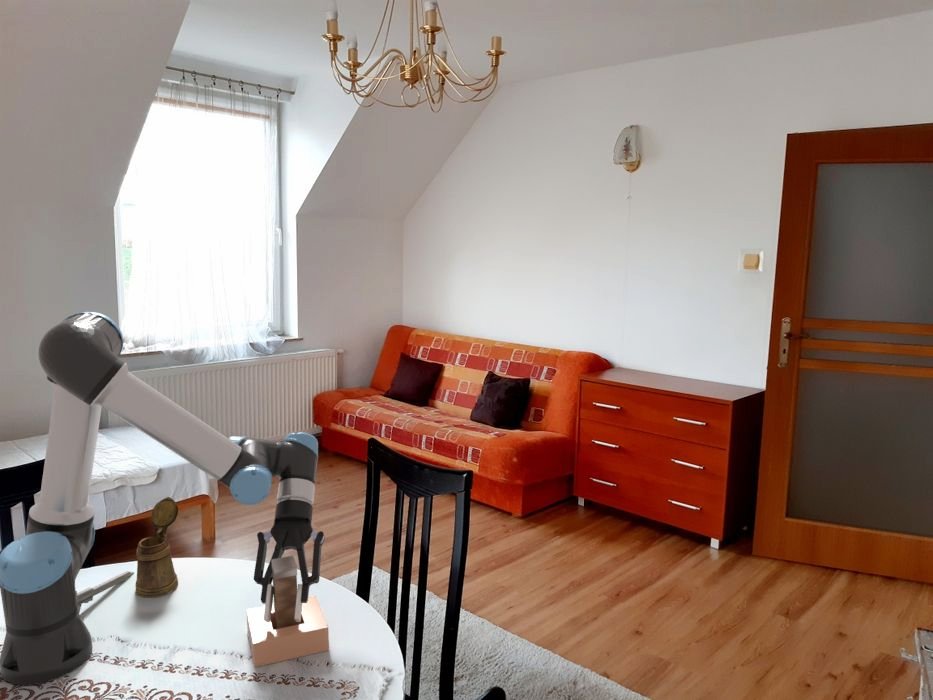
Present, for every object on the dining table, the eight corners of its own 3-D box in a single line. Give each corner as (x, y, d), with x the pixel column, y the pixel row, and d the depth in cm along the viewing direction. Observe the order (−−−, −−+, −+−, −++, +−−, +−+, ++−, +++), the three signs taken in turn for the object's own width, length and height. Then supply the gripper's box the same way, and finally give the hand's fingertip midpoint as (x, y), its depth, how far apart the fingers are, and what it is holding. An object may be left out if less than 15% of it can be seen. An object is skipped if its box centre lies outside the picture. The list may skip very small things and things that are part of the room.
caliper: (70, 624, 147) (67, 596, 145) (66, 623, 147) (62, 596, 146) (134, 574, 166) (132, 549, 165) (130, 573, 167) (127, 549, 165)
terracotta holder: (254, 667, 134) (253, 643, 133) (247, 631, 144) (246, 609, 143) (328, 650, 139) (328, 627, 138) (316, 617, 150) (316, 595, 149)
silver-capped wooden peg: (278, 644, 139) (274, 569, 135) (274, 632, 143) (271, 559, 139) (299, 639, 140) (296, 565, 137) (296, 627, 144) (293, 555, 141)
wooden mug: (193, 567, 169) (188, 496, 165) (167, 598, 156) (160, 522, 152) (156, 566, 170) (150, 495, 166) (127, 597, 156) (120, 521, 152)
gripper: (340, 510, 153) (332, 624, 140) (254, 511, 152) (238, 625, 139) (336, 497, 147) (327, 615, 134) (247, 498, 146) (229, 616, 133)
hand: (282, 620), depth 137 cm, fingers closed on silver-capped wooden peg, 5 cm apart
